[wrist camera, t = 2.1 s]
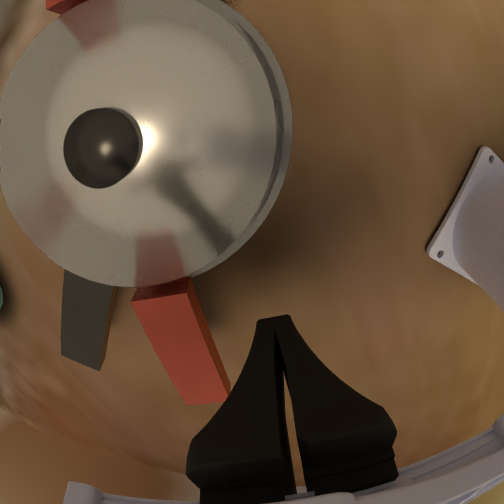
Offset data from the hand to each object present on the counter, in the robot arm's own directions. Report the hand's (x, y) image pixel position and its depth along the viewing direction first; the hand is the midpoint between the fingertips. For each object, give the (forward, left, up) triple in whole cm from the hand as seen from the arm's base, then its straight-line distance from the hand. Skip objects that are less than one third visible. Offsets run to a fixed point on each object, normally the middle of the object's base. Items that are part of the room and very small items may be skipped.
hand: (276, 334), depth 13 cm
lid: (+8, -4, -1) cm, 9 cm away
